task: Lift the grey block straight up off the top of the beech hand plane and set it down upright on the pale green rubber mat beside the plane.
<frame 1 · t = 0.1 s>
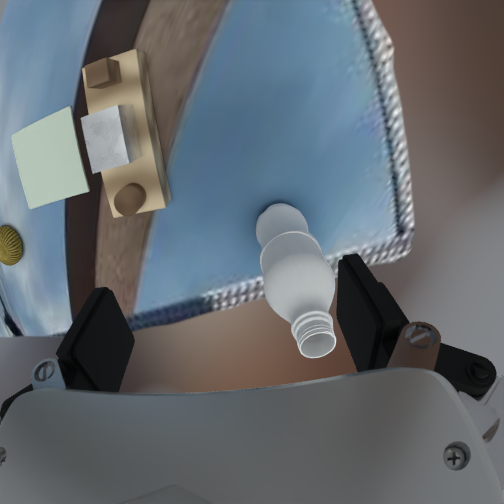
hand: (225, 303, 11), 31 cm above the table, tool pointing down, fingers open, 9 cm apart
sculpture: (12, 240, 42), on the table
mat: (47, 160, 36), on the table
grey block: (120, 135, 32), point 4 cm above the table, touching hand plane
hand plane: (130, 132, 36), on the table
water bottle: (278, 221, 44), on the table
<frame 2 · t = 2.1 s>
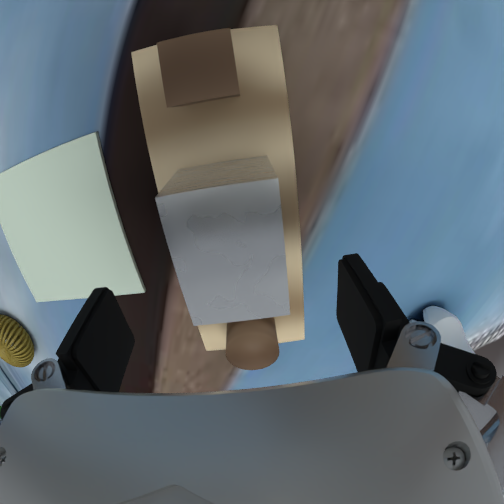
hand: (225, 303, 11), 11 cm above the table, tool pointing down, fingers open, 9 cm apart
sculpture: (16, 330, 28), on the table
mat: (56, 231, 21), on the table
grey block: (231, 218, 17), point 4 cm above the table, touching hand plane
hand plane: (233, 197, 21), on the table
water bottle: (422, 322, 29), on the table
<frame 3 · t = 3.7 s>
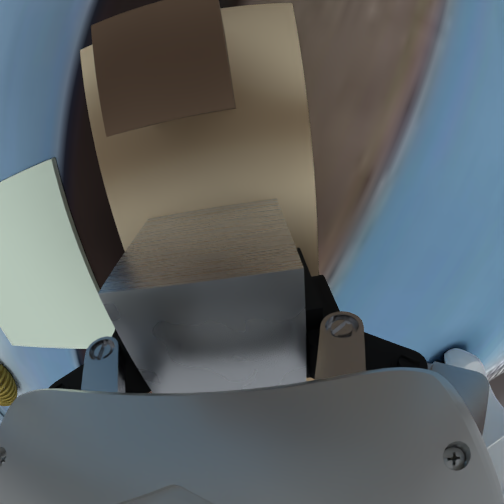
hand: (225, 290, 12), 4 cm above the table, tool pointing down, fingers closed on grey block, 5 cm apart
mat: (21, 275, 16), on the table
grey block: (226, 284, 12), point 4 cm above the table, touching gripper, hand plane
hand plane: (228, 243, 16), on the table
water bottle: (442, 364, 24), on the table
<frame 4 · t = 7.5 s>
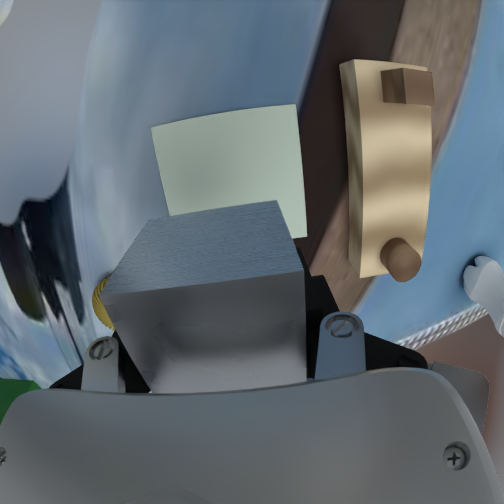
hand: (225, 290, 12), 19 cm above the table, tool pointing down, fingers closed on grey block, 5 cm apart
sculpture: (126, 295, 35), on the table
hardback book: (23, 388, 47), on the table
mat: (232, 181, 29), on the table
grey block: (226, 286, 12), point 18 cm above the table, touching gripper
hand plane: (381, 166, 28), on the table
water bottle: (473, 270, 36), on the table
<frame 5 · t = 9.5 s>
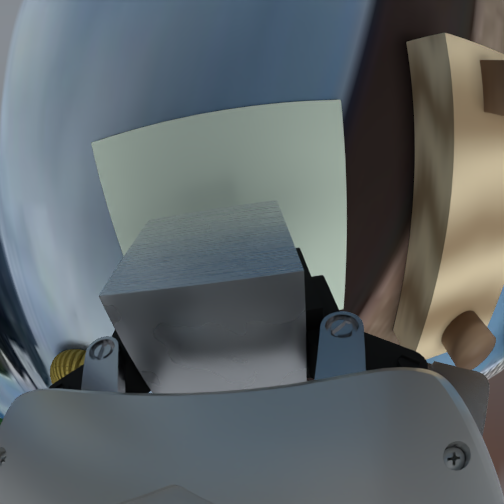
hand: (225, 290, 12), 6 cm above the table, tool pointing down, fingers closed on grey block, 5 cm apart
sculpture: (94, 367, 24), on the table
mat: (230, 231, 17), on the table
grey block: (226, 286, 12), point 6 cm above the table, touching gripper
hand plane: (454, 204, 17), on the table
when the fingers open (2 cm above the table, at t = 11.2 s): grey block drops 1 cm, resting on mat.
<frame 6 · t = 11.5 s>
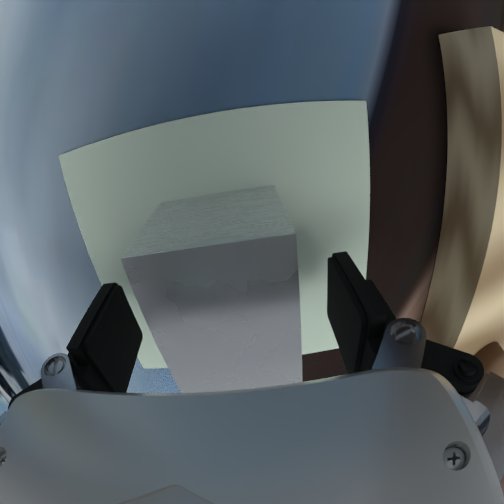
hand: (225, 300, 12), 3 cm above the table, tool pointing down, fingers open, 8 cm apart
mat: (227, 261, 14), on the table
grey block: (229, 264, 14), resting on mat
hand plane: (484, 224, 14), on the table
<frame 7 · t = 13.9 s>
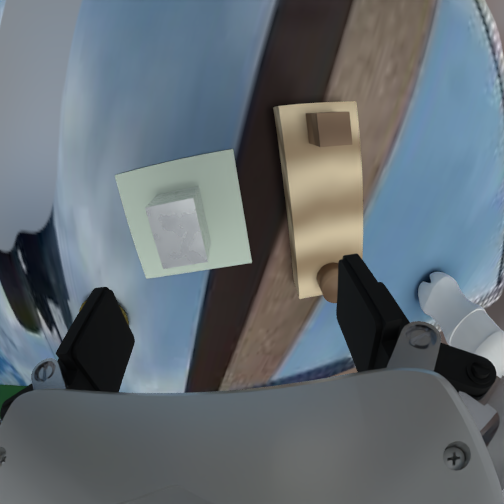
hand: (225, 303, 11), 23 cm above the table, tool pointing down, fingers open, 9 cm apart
hardback book: (23, 394, 51), on the table
mat: (184, 218, 34), on the table
grey block: (184, 218, 33), resting on mat
hand plane: (318, 197, 33), on the table
water bottle: (429, 285, 41), on the table
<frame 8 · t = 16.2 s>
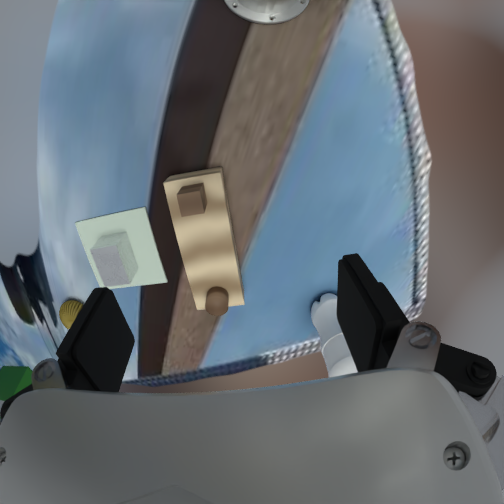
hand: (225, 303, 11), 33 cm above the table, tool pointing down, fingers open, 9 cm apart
sculpture: (79, 311, 53), on the table
hardback book: (21, 373, 66), on the table
mat: (120, 251, 47), on the table
grey block: (120, 252, 46), resting on mat
hand plane: (209, 237, 46), on the table
water bottle: (326, 303, 54), on the table
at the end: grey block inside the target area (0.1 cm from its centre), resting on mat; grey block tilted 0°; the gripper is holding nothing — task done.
